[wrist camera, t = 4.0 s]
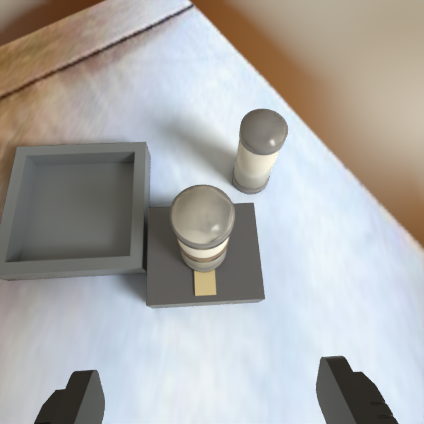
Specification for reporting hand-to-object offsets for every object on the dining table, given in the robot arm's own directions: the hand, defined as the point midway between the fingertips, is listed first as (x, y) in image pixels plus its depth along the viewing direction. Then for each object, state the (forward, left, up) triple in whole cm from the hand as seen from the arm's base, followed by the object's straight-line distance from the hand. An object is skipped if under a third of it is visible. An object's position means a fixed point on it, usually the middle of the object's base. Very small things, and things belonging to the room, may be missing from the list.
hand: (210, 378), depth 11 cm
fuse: (+5, +16, -14) cm, 22 cm away
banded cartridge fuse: (0, +8, -11) cm, 13 cm away
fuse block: (0, +8, -14) cm, 16 cm away
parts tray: (-11, +13, -14) cm, 22 cm away
